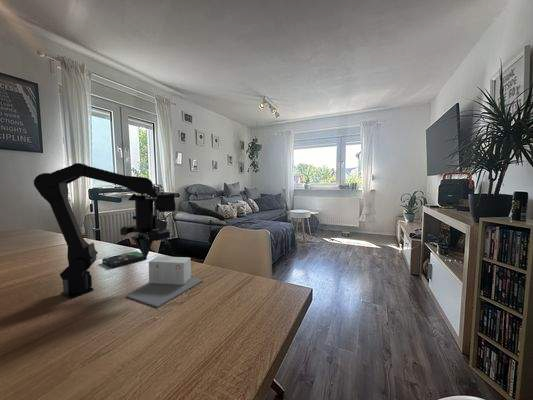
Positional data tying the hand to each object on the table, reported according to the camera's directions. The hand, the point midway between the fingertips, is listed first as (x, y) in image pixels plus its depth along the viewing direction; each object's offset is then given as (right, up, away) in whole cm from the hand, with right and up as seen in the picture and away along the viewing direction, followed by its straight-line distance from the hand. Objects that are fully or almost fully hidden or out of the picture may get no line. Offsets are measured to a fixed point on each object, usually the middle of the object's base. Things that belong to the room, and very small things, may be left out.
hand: (145, 255), depth 84 cm
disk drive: (-21, -9, +22) cm, 31 cm away
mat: (+9, -11, -3) cm, 15 cm away
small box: (+2, -5, +2) cm, 6 cm away
